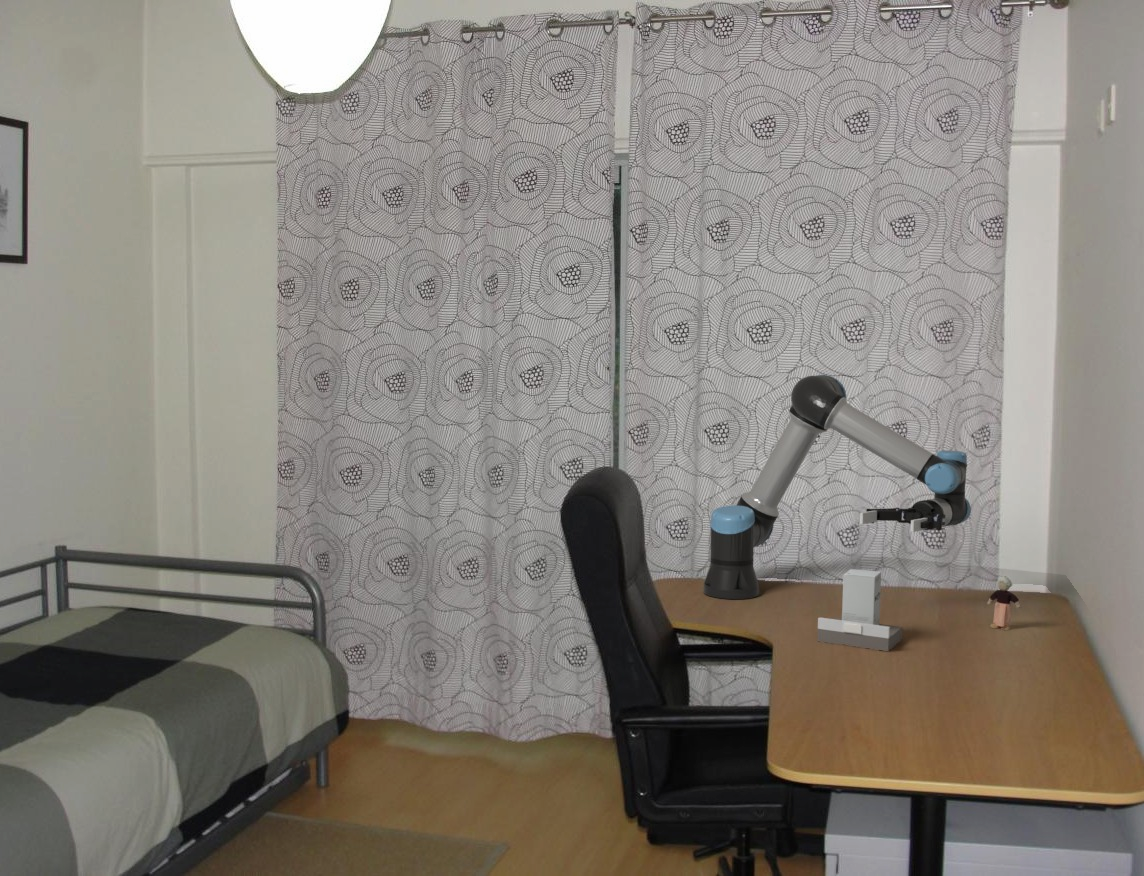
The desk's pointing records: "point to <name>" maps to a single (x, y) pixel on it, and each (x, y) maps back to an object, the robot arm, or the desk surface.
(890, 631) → the shelf board
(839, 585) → the desk surface
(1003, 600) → the grandmother figurine
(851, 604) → the supplement box
